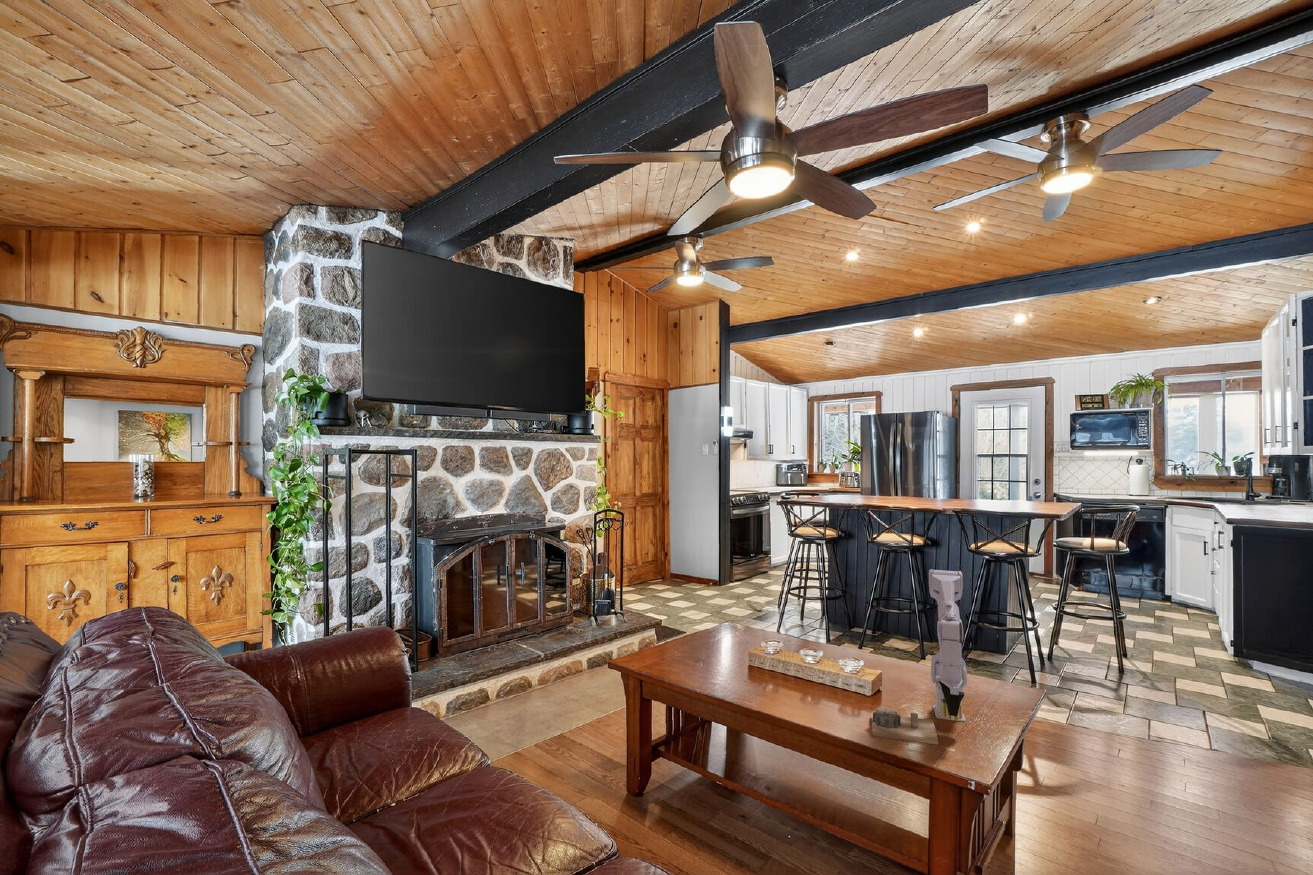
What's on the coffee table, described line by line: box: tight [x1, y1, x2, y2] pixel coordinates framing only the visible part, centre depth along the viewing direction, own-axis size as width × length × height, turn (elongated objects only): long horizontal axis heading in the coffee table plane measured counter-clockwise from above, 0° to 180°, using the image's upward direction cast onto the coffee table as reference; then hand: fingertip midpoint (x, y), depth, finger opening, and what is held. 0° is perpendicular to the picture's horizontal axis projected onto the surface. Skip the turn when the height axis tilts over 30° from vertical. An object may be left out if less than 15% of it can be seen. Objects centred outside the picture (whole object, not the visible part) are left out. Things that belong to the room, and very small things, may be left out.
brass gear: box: [940, 698, 964, 721], centre depth 173 cm, size 6×6×4 cm
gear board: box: [871, 708, 939, 746], centre depth 175 cm, size 13×17×5 cm
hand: (951, 710), depth 173 cm, fingers closed on brass gear, 6 cm apart
